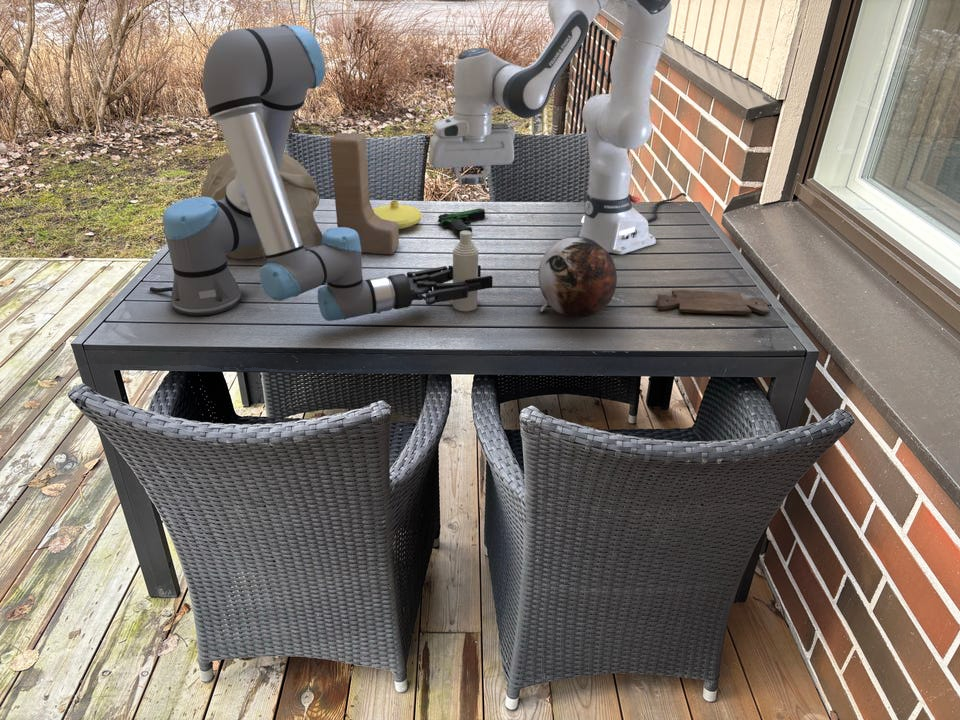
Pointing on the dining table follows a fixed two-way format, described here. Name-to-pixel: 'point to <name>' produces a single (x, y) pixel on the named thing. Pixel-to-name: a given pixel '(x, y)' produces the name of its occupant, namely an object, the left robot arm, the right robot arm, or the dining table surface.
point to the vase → (399, 214)
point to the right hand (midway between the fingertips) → (471, 183)
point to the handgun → (461, 220)
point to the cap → (472, 179)
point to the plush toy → (577, 277)
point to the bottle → (465, 269)
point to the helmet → (297, 190)
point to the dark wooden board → (711, 302)
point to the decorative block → (358, 195)
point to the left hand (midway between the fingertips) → (485, 276)
